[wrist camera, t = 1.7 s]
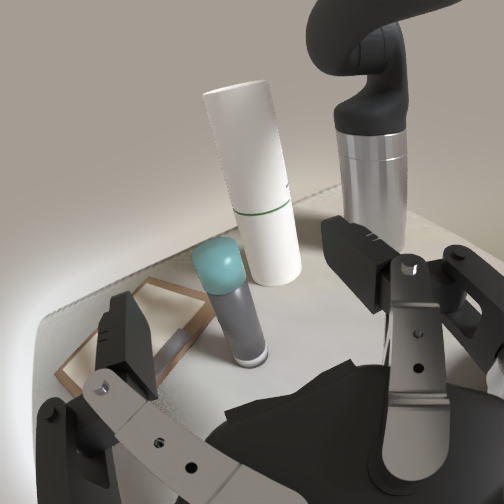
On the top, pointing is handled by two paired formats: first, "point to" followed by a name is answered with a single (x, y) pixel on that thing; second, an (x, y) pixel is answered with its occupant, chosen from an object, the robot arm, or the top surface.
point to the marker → (231, 299)
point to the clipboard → (161, 326)
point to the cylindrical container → (256, 179)
